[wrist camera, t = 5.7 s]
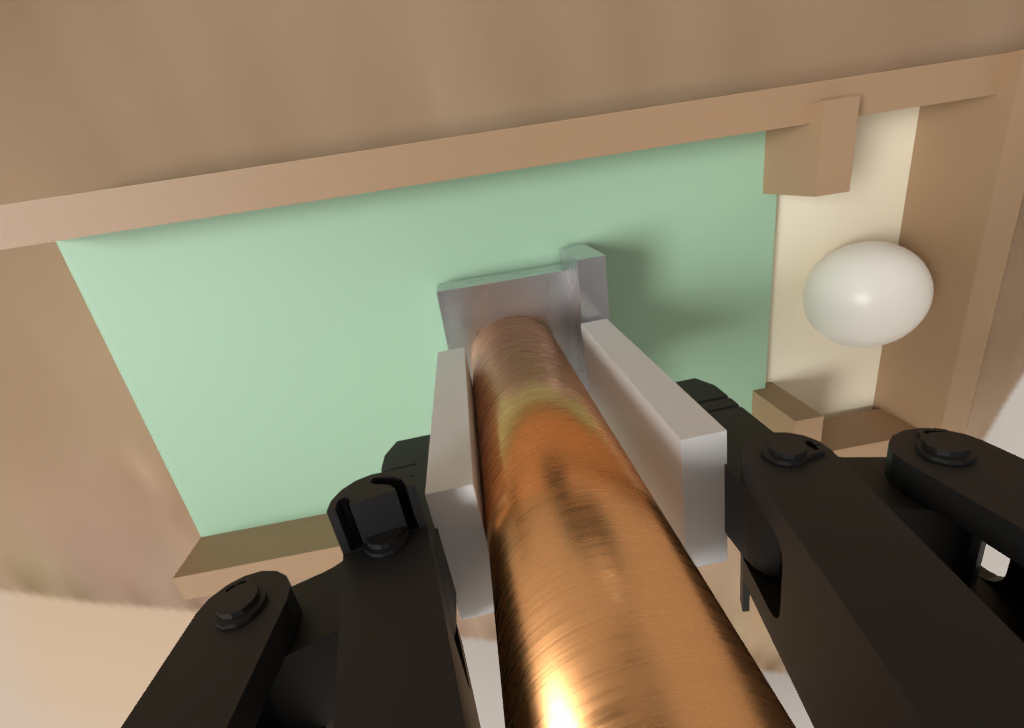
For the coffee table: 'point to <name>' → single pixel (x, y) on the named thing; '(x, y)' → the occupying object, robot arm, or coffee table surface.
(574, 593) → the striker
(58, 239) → the pitch
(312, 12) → the coffee table surface
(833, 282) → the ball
